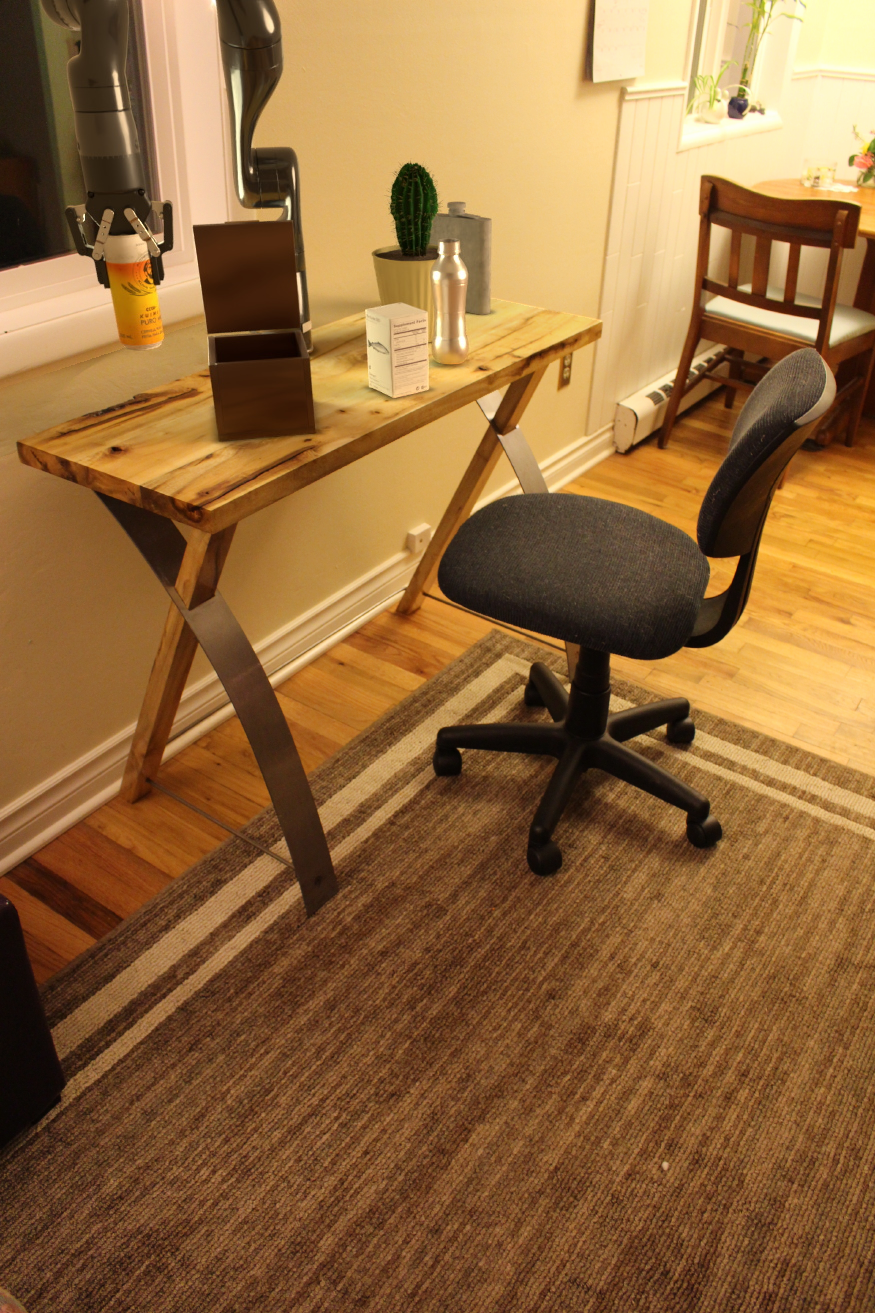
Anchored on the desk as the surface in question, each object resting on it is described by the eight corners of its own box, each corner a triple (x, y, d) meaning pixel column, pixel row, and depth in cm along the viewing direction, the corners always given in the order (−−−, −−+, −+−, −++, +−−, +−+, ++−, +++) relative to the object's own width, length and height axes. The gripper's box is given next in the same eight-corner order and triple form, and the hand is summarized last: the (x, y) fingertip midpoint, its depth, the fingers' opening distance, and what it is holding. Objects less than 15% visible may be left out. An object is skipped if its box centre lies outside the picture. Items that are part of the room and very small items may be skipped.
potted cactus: (358, 334, 193) (348, 159, 177) (419, 319, 202) (415, 150, 185) (412, 351, 183) (407, 167, 167) (474, 334, 192) (474, 158, 176)
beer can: (153, 352, 141) (134, 237, 133) (113, 350, 142) (91, 235, 134) (172, 339, 146) (154, 227, 138) (132, 337, 147) (113, 226, 139)
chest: (316, 432, 150) (309, 357, 144) (219, 441, 147) (208, 365, 142) (306, 400, 162) (300, 329, 156) (217, 407, 160) (207, 336, 154)
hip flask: (418, 305, 211) (415, 200, 200) (428, 301, 214) (426, 197, 203) (485, 315, 204) (486, 206, 193) (495, 310, 207) (496, 203, 196)
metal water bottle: (442, 370, 174) (441, 246, 163) (424, 360, 179) (422, 239, 168) (475, 364, 176) (476, 241, 165) (457, 355, 181) (456, 234, 170)
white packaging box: (367, 387, 167) (363, 308, 160) (405, 378, 170) (402, 300, 163) (392, 399, 162) (388, 317, 155) (430, 390, 165) (429, 309, 158)
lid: (292, 221, 145) (289, 207, 149) (192, 226, 143) (191, 212, 147) (300, 327, 156) (297, 312, 160) (207, 334, 153) (206, 318, 157)
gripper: (167, 143, 135) (186, 276, 144) (54, 147, 132) (81, 282, 142) (166, 151, 128) (186, 289, 138) (47, 155, 126) (75, 295, 135)
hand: (132, 285), depth 140 cm, fingers closed on beer can, 6 cm apart
